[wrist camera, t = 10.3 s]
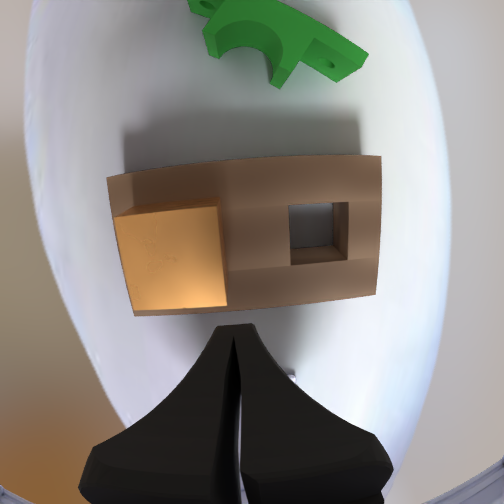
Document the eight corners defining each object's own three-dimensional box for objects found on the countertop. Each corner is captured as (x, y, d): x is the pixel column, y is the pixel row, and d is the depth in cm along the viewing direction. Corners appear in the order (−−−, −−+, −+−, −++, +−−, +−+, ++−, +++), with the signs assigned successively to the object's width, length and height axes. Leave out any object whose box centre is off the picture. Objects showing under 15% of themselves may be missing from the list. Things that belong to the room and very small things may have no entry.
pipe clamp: (171, 41, 16) (154, 14, 11) (200, 2, 15) (191, -31, 10) (318, 113, 18) (341, 102, 13) (343, 71, 17) (370, 53, 12)
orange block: (229, 264, 20) (227, 305, 15) (158, 269, 20) (133, 310, 15) (222, 190, 19) (216, 206, 13) (147, 198, 18) (114, 217, 13)
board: (359, 277, 21) (375, 294, 19) (145, 295, 21) (134, 316, 18) (361, 154, 18) (381, 155, 16) (124, 173, 18) (106, 177, 15)
